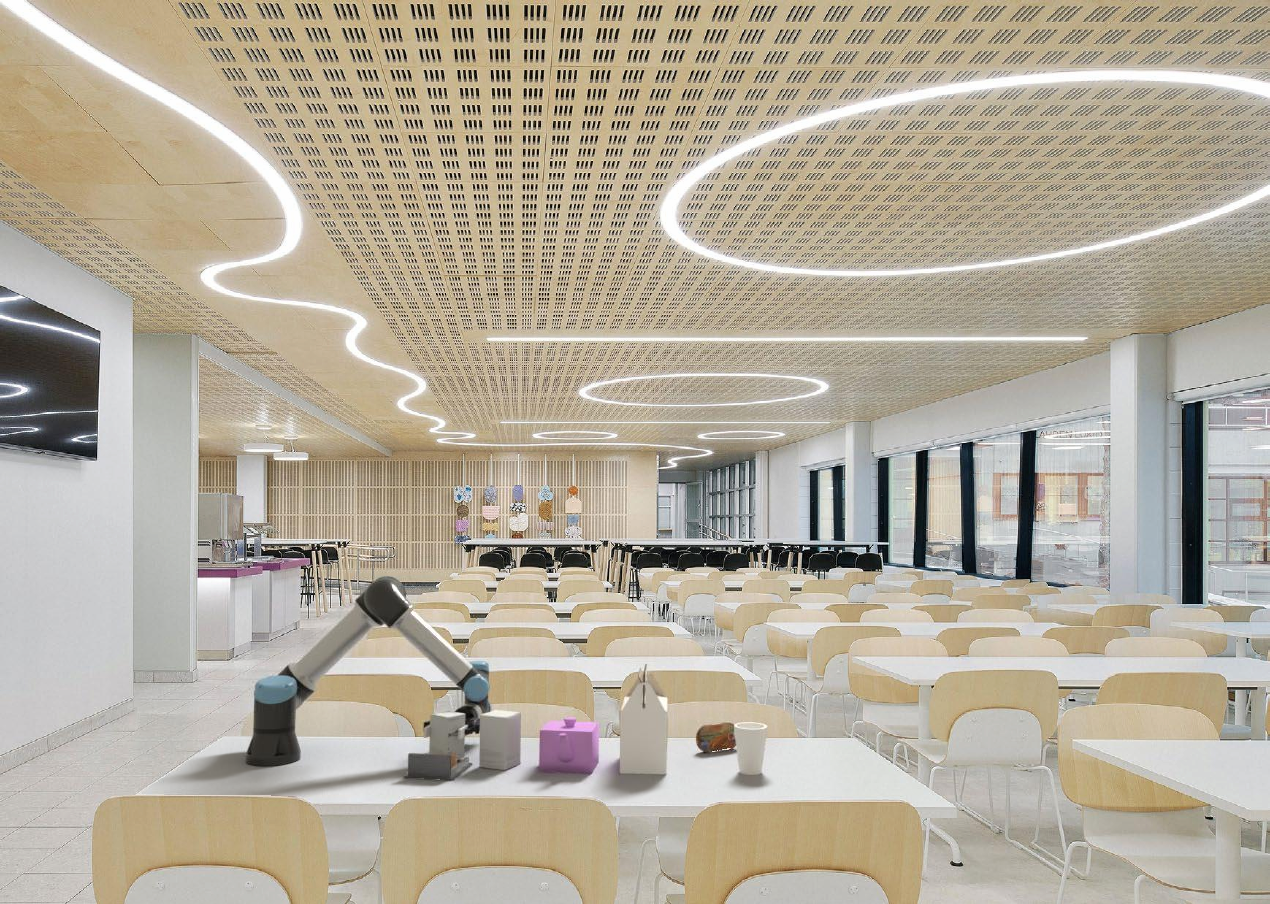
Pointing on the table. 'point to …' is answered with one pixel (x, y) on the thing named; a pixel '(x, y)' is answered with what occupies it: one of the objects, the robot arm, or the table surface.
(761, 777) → the table surface
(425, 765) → the pusher lane
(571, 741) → the teapot
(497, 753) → the supplement box
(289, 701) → the robot arm
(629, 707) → the gable box
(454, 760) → the spring pusher
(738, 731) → the foam cup
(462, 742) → the supplement box
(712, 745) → the tin
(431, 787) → the table surface
